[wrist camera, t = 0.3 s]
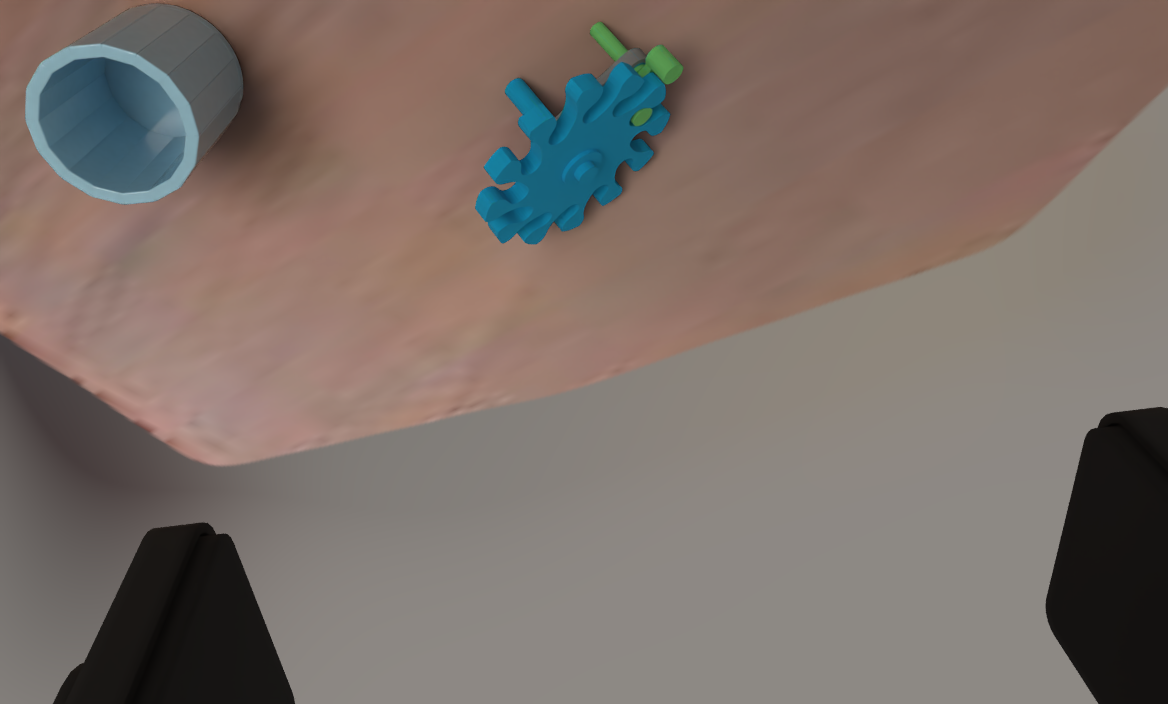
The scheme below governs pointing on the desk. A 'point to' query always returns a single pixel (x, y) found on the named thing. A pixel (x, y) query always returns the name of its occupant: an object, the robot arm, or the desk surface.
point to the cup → (135, 103)
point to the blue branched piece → (578, 142)
